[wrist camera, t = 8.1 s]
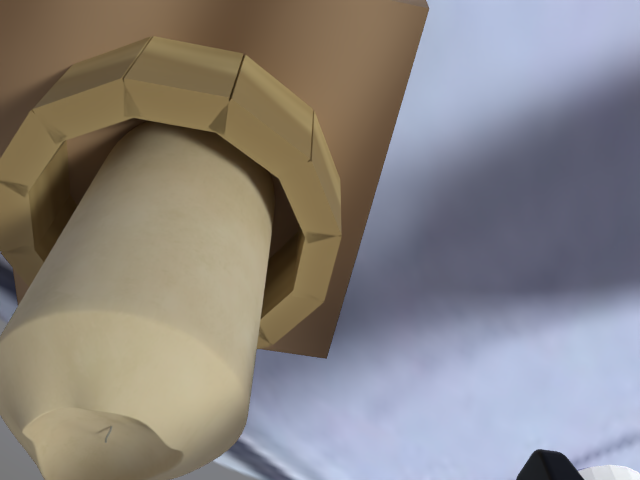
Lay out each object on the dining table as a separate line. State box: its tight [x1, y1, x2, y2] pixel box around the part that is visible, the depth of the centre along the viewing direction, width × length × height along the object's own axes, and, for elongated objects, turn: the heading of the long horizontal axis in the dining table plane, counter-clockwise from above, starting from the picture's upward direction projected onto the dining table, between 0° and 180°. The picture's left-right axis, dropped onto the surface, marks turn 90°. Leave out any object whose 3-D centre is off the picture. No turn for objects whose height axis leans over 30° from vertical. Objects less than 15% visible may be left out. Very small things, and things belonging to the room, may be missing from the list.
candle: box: [0, 121, 275, 480], centre depth 16 cm, size 6×6×10 cm
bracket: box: [0, 0, 429, 359], centre depth 19 cm, size 12×14×4 cm
